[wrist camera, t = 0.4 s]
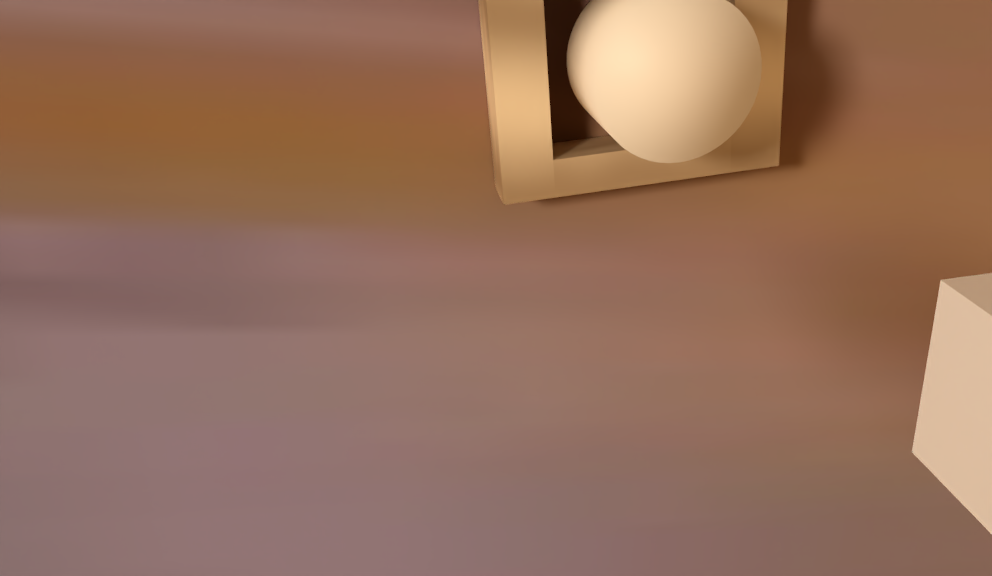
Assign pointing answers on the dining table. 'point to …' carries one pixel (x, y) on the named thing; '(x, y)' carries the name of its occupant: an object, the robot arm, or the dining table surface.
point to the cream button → (665, 73)
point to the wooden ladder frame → (601, 160)
